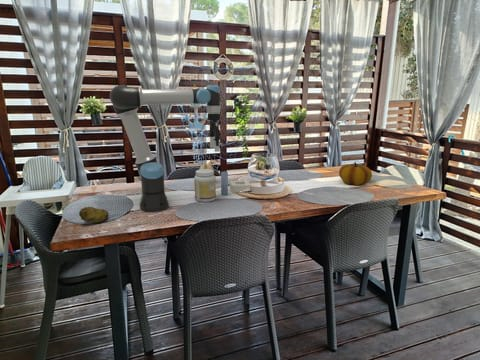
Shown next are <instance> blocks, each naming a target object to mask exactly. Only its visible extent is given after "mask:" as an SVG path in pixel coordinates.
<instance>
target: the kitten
mask: <svg viewBox="0 0 480 360" xmlns="http://www.w3.org/2000/svg"><path fill="white" fill-rule="evenodd" d="M212 164H213V163H212V160H210V161H208V163H204V164H202V165H200V167H199V169H198V170H200V169H211V170H214V167H213V166H212ZM214 171H215V170H214Z"/></svg>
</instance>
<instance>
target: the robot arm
mask: <svg viewBox="0 0 480 360" xmlns="http://www.w3.org/2000/svg"><path fill="white" fill-rule="evenodd" d="M109 99H110V102H111V104H112V107H113V109H114V111H115V114H116V116H118V117H120V119H121V123H122V125H123V127H124V130H125V133H126V134H127V138H128V140H129V143H130V145H131V148H132V150H133V152H134V155H135V162H134V164H135V167H136V168H137V172H138V175H139V177H140V183H141V198H140V202H139V209H140V210H141V211H142V212H149V213H152V212H154V213H155V212H161V211H164V210H167V209H169V207H170V204H169V200H168V198H167V195H166V192H165V191H166V190H165V176H164V175H165V170H164V166H163V165H162V164H161V163H159V162H158V159H157V157H156V156H157V155H155V154H152V151H151V149H150V148H151V147H150V145H149V143H148V140H147V138H146V135H145V131H144V129H143V125H142V123H141V121H140V118H139V115H138V110H139V108H142V107H143V106H154V105H155V106H156V105H157V106H159V105H165V106H166V105H191V104H192V105H193V104H194V105H206V110H207V111H206V112H207V121H209V130H208V131H209V134H208V135H209V148H211V149H212V148H214V152H215V153H218V152H220V151H221V150H220V140H221V135H220V134H221V133H220V123H219V122H218V121H220V120H221V116H222V115H221V109H222V107H221V87H220V85H216V84H215V85H212V84H211V85H206V88H163V89H162V88H151V89H148V88H141V87H139V86H129V85H128V86H127V85H124V84H122V85H121V84H119V85H116V86H114V87H113V88H111V91H110V92H109Z"/></svg>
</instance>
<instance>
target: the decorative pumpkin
mask: <svg viewBox="0 0 480 360" xmlns="http://www.w3.org/2000/svg"><path fill="white" fill-rule="evenodd" d="M338 176H339V178H340V179H341V180H342V181H343V182H344V183H345V184H347V185H354V186H360V185H366V184H368V183H369V182H370V181H371V179H372V177H373V172H372V171H371V168H369V167H368V166H366V165H365V164H363V163H360V164H357V162H356V161H355V162H353V163H349V164H348V163H346V164H343V165H341V166H340V168H339V170H338Z"/></svg>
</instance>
